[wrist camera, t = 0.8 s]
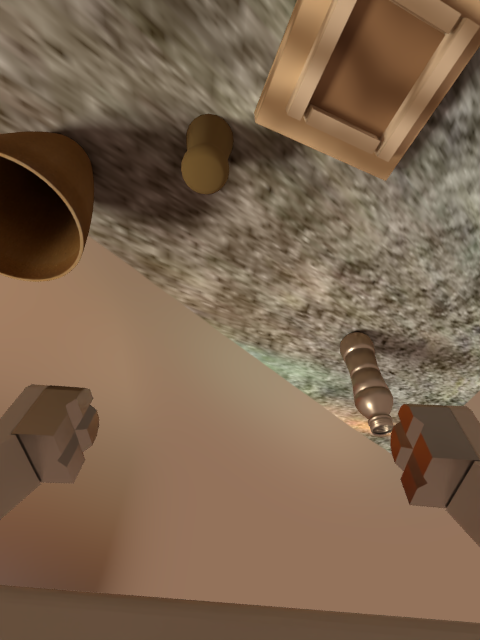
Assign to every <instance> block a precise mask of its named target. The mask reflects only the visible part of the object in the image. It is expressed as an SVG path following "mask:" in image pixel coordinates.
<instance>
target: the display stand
mask: <svg viewBox="0 0 480 640" xmlns="http://www.w3.org/2000/svg"><path fill="white" fill-rule="evenodd" d="M479 46H480V0H297V2H296V5H295V7H294V10H293V12H292V15H291V18H290V20H289V23H288V26H287V28H286V31H285V33H284V36H283V39H282V41H281V44H280V47H279V49H278V52H277V54H276V57H275V60H274V62H273V65H272V68H271V70H270V73H269V75H268V78H267V81H266V83H265V86H264V89H263V91H262V94H261V96H260V99H259V102H258V104H257V107H256V110H255V112H254V114H255V122H256V123H257V124H260V125H262V126H264V127H266V128H269V129H271V130H273V131H275V132H278V133H280V134H282V135H284V136H287V137H289V138H291V139H293V140H295V141H298V142H300V143H302V144H304V145H307V146H309V147H311V148H313V149H316V150H318V151H320V152H322V153H325V154H327V155H329V156H331V157H334V158H336V159H338V160H340V161H343V162H345V163H347V164H349V165H351V166H354V167H356V168H358V169H360V170H363V171H365V172H367V173H369V174H372V175H374V176H376V177H378V178H381V179H383V180H385V181H386V180H387V178H388V177H389V175H390V174H391V172H392V171H393V170H394V168H395V167H396V165H397V164H398V162H399V161H400V160H401V158H402V157H403V155H404V154H405V152H406V151H407V149H408V148H409V147H410V145H411V144H412V142H413V141H414V139H415V138H416V137H417V135H418V134H419V132H420V131H421V129H422V128H423V127H424V125H425V124H426V122H427V121H428V119H429V118H430V116H431V115H432V114H433V112H434V111H435V109H436V108H437V106H438V105H439V104H440V102H441V101H442V99H443V98H444V96H445V95H446V93H447V92H448V91H449V89H450V88H451V86H452V85H453V83H454V82H455V81H456V79H457V78H458V76H459V75H460V73H461V72H462V71H463V69H464V68H465V66H466V65H467V63H468V62H469V60H470V59H471V58H472V56H473V55H474V53H475V52H476V50H477V49H478V48H479Z"/></svg>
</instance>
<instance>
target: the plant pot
mask: <svg viewBox="0 0 480 640" xmlns="http://www.w3.org/2000/svg"><path fill="white" fill-rule="evenodd" d="M93 203H94V179H93V171H92V166H91V162H90V160H89V157H88V156H87V154H86V152H85V151H84V150H83V148H82V147H81V146H80V145H79V144H77V143H76V142H75V141H74V140H72V139H71V138H69V137H67V136H64V135H61V134H57V133H50V132H15V133H6V134H0V274H1V275H3V276H6V277H10V278H14V279H18V280H23V281H35V282H38V281H50V280H54V279H57V278H60V277H62V276H64V275H66V274H68V273H69V272H70V271H72V270H73V269H74V268H75V267H76V265H77V264H78V263H79V261H80V259H81V256H82V253H83V250H84V247H85V243H86V240H87V237H88V233H89V229H90V224H91V218H92V212H93Z"/></svg>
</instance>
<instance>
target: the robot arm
mask: <svg viewBox="0 0 480 640" xmlns="http://www.w3.org/2000/svg"><path fill="white" fill-rule="evenodd" d="M92 400H93V397H92V394H91V391H90V389H87V388H78V387H65V386H45V385H34V384H32V385H30V386H28V387H26V388H25V389H24V391H23V392H22V393H21V394H20V395H19V396H18V398H17V399H16V400H15V401H14V403H13V404H12V405H11V406H10V407H9V409H8V410H7V411H6V412H5V414H4V415H3V416H2V417H1V418H0V519H1V518H3V517H4V516H5V515H6V514H7V513H8V512H9V511H11V510H12V509H13V508H14V507H15V506H16V505H17V504H18V503H20V502H21V501H22V500H23V499H24V498H25V497H26V496H28V495H29V494H30V493H31V492H32V491H33V490H34V489H36V488H37V487H38V486H39V485H40V482H48V483H49V482H50V483H74V481H75V479H76V477H77V475H78V473H79V471H80V469H81V467H82V465H83V463H84V461H85V458H84V455H83V452H84V451H85V450H87V449H88V448H90V447H91V446H92V445H93V443H94V441H95V439H96V436H97V432H98V428H99V416H98V413H97V410H96V409H95V408H94V407H92V406H91V405H90V403H91V402H92ZM398 416H399V419H400V422H399V423H397V424H396V425H394V426H393V429H392V433H391V444H390V446H391V451H392V456H393V458H394V462H395V463H396V464H397V465H398V466H399V467H400V468H401V469H402V470H403V471H404V472H403V474H402V477H401V482H402V485H403V488H404V490H405V493H406V496H407V499H408V502H409V504H410V505H416V506H427V507H438V508H447V509H446V511H447V512H448V513H449V514H450V515H451V516H452V517H453V519H454V520H456V522H457V523H458V524H459V525H460V526H461V527H462V528H463V529H464V530H465V532H466V533H467V534H468V535H469V536H470V537H471V538H472V539H473V540H474V541H475V542H476V544H478V546H479V547H480V423H479V421H478V420H477V418H476V417H475V415H474V413H473V412H472V411H471V410H470V409H469V408H468V407H466V406H447V405H445V406H443V405H422V404H403V405H402V406H401V407H400V410H399V412H398ZM0 640H480V623H472V622H461V621H448V620H435V619H422V618H411V617H398V616H385V615H372V614H359V613H347V612H335V611H323V610H309V609H297V608H283V607H272V606H259V605H247V604H235V603H222V602H209V601H197V600H184V599H171V598H159V597H146V596H134V595H121V594H109V593H96V592H82V591H70V590H57V589H45V588H33V587H20V586H7V585H0Z"/></svg>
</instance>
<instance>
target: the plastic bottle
mask: <svg viewBox="0 0 480 640" xmlns="http://www.w3.org/2000/svg"><path fill="white" fill-rule="evenodd" d="M340 353H341V356H342V358H343V360H344V362H345V363H346V365H347V368H348V370H349V373H350V377H351V381H352V386H353V393H354V402H355V406H356V408H357V409H358V411H359V412H360V413H361V414H362V415H363V416H365V417H366V418H367V419H369V420H368V424H369V426H370V429H371V432H372V433H373V434H374V435H386V434H389V433H391V432H392V429H393V423H392V418H391V416H390V415H389V414H390V411H391V409H392V406H393V396H392V394H391V392H390V390H389V388H388V386H387V385H386V383H385V381H384V379H383V377H382V375H381V373H380V370H379V368H378V365H377V361H376V357H375V349H374V344H373V342H372V340H371V339H370V337H369V336H368V335H366V334H364V333H361V332H354V333H350V334H348V335H346V336H345V337H344V338H343V339H342V341H341V343H340Z"/></svg>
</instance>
